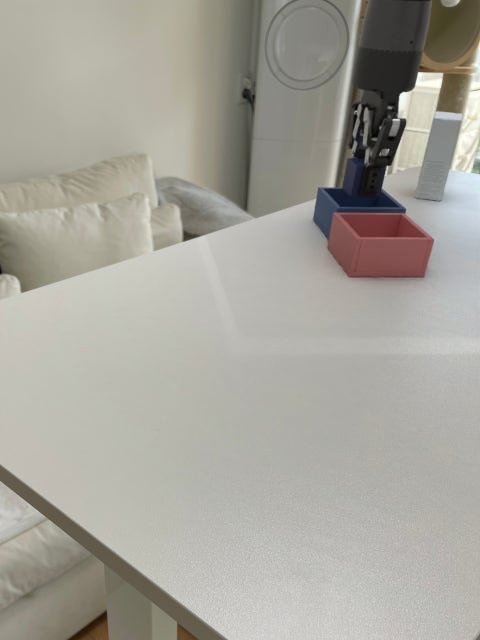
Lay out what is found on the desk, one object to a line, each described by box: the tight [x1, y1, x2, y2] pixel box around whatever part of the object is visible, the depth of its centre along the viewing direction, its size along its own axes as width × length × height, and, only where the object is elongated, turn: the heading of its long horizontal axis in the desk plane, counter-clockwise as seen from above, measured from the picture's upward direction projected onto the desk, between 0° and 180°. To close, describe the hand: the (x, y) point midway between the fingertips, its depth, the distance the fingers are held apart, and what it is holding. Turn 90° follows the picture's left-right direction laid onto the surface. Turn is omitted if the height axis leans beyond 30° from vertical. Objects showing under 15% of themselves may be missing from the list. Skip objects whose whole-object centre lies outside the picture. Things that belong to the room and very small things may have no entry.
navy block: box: [341, 157, 388, 198], centre depth 86 cm, size 4×4×4 cm
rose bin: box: [326, 213, 435, 278], centre depth 80 cm, size 9×10×5 cm
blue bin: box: [312, 186, 407, 241], centre depth 89 cm, size 9×10×5 cm
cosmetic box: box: [414, 110, 464, 202], centre depth 103 cm, size 6×4×12 cm
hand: (361, 191), depth 87 cm, fingers closed on navy block, 4 cm apart
